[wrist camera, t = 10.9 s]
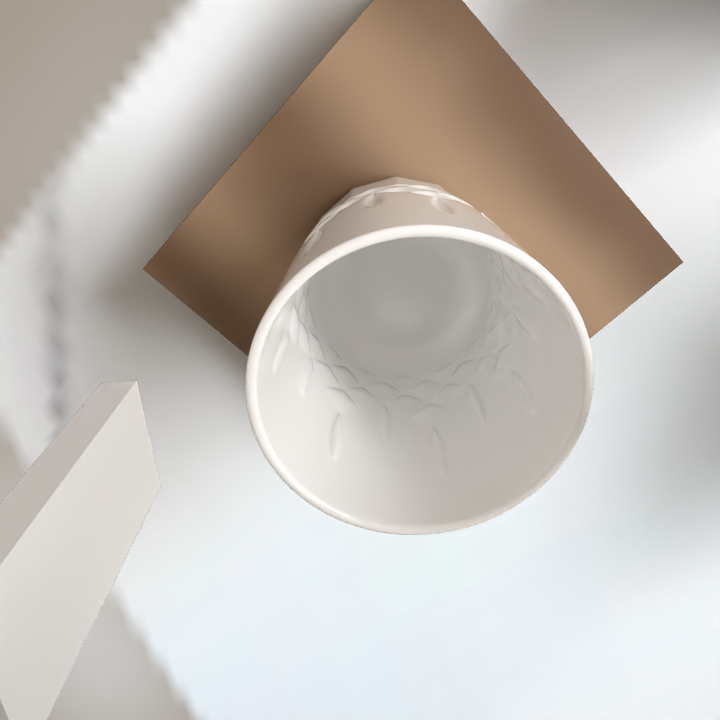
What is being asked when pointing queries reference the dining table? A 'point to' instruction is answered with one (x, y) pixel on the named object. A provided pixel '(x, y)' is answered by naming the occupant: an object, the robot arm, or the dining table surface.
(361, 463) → the white cup
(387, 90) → the walnut base
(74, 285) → the dining table surface
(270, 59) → the dining table surface
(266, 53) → the dining table surface
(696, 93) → the dining table surface
